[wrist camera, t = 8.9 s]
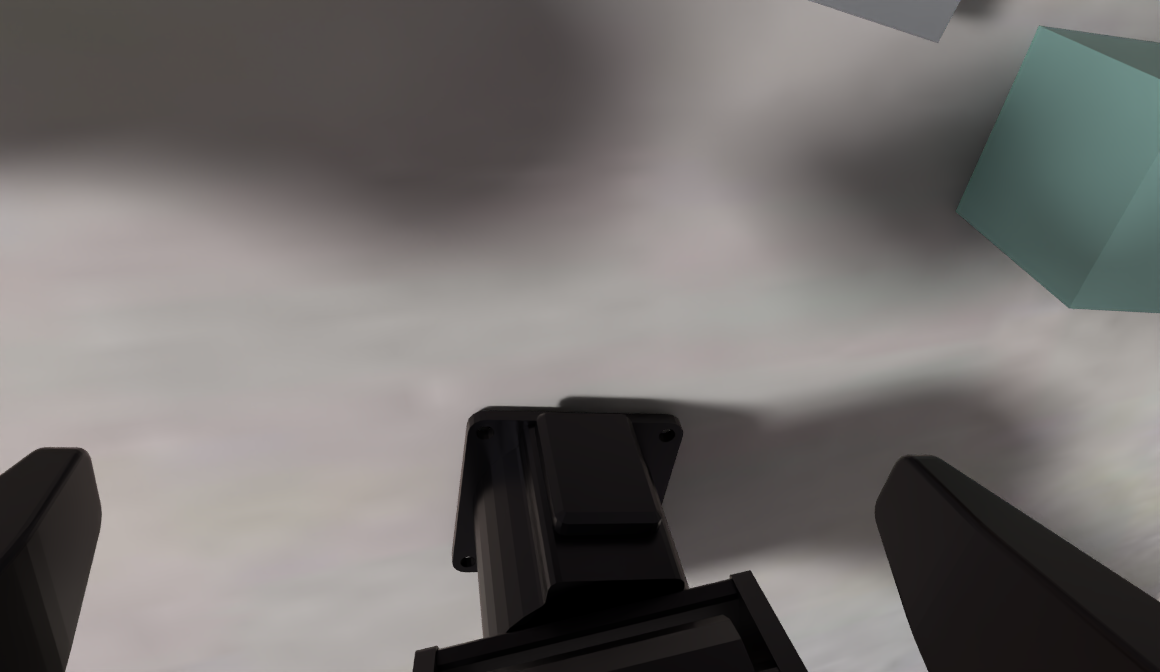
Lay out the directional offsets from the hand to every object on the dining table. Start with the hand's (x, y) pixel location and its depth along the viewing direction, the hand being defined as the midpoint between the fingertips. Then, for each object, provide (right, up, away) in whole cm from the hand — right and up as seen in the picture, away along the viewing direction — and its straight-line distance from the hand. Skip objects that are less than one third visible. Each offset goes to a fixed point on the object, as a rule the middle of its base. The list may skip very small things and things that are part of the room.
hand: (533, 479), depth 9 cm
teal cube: (+14, +7, +13) cm, 20 cm away
